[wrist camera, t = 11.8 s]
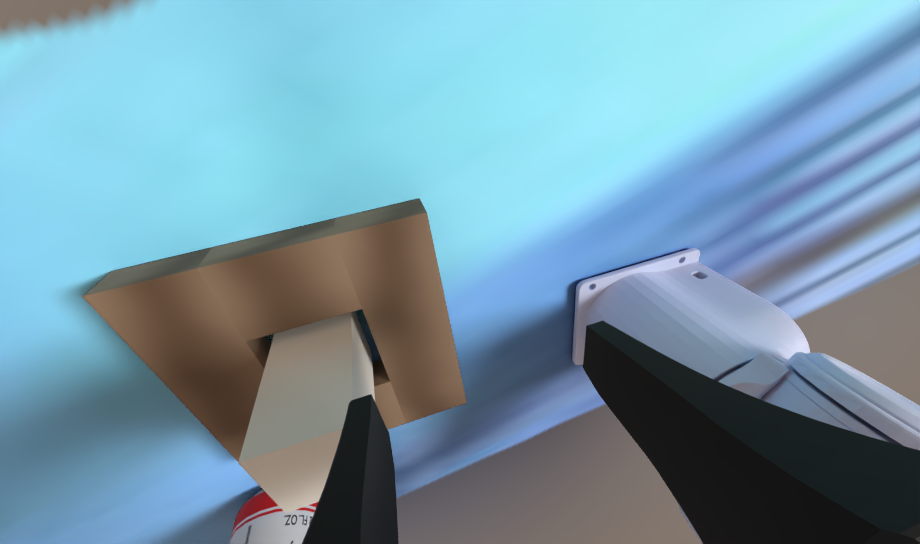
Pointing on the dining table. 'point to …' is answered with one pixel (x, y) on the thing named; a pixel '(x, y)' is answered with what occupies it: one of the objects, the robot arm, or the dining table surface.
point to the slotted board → (291, 313)
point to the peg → (305, 407)
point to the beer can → (270, 522)
